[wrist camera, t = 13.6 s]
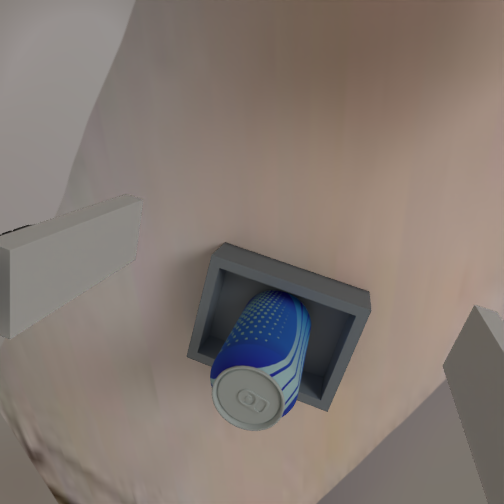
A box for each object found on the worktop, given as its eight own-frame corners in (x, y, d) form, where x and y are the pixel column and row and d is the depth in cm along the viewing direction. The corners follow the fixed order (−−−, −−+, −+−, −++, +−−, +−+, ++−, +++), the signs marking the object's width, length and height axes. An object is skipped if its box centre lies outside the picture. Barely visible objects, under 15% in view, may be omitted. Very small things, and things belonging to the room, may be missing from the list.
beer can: (261, 353, 51) (224, 446, 36) (235, 296, 50) (186, 370, 35) (322, 337, 48) (309, 431, 34) (297, 277, 47) (272, 347, 32)
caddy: (225, 242, 48) (211, 254, 44) (369, 291, 46) (371, 310, 41) (200, 336, 53) (186, 356, 49) (329, 385, 51) (327, 411, 46)
